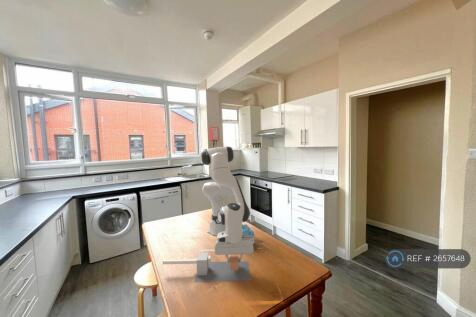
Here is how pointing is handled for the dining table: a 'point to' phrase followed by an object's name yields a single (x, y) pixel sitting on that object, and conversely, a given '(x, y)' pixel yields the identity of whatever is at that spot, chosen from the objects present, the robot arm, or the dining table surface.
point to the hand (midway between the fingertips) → (234, 261)
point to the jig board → (220, 271)
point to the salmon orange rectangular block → (234, 262)
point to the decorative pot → (247, 231)
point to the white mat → (206, 250)
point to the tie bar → (185, 261)
